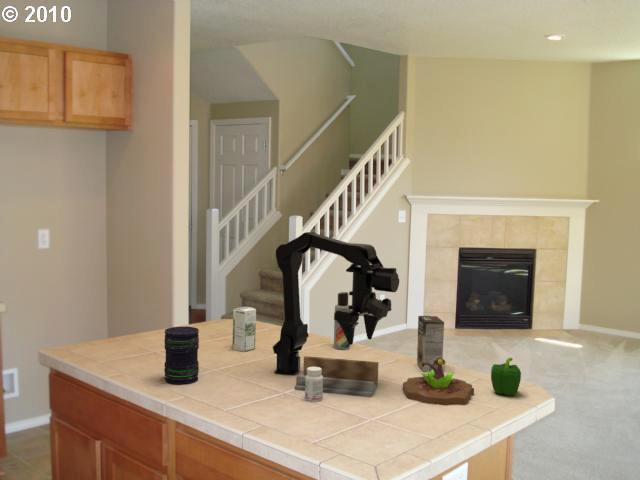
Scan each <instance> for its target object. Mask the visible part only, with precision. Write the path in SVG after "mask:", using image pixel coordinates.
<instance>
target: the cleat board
mask: <svg viewBox="0 0 640 480" xmlns="http://www.w3.org/2000/svg"><path fill="white" fill-rule="evenodd" d="M308 367H320V368H321V369H322V374H321V375H322V376H323V394H335V395H345V396H355V397H366V398H373V396H374V394H375V392H376V390H377V388H378V386H379V361H371V360H370V361H368V360H357V359H356V360H355V359H346V358H345V359H343V358H333V357H320V356H307V355H304V356H303V375H302V374H301V375H300V374H296V377H295V378H296V379H295V380H296V383H295V385H294V391H300V392H301V391H302V392H305V377H306V375H308V374H307V368H308Z"/></svg>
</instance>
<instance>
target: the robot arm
mask: <svg viewBox="0 0 640 480" xmlns="http://www.w3.org/2000/svg"><path fill="white" fill-rule="evenodd" d="M311 248H313V249H317V250H321V251H323V252H324V251H325V252H327V253H330V254H334V255H337V256H340V257H342V258H344V259H345V260H346V261H347V262H349V263H351V264H350V266H348V267H347V268H346V269H345V272H346V273H347V272H348V273H352V284H351V285H352V289H351V291H350V290H349V292H348V294H349V296H351V304H350V306H349V309H351V310H347V309H341V310H337V311H336V312H335V311H334V313H333V321H334V320H336V321H337V323H339V324H340V326H341V328H342V330H343V332H344V334H345V336H346V339H347V341H348V343H349V344H350V346H352V345H353V344H354V337H355V330H356V327H357V326H358V325H359V323H360V322H358V321H359V319H360V318H359V317H362V316H363V321H364V328H365V334H366V338H367V339H368V340H372V337H373V336H374V332H375V330H376V327H377V326H378V323H379V321H381V320H382V319H383V318H387V317H388V313H389V312H391V311H392V299H389V298H388V297H387V298H383V299H378V298H377V294H376V292H375V291H379V292H385V293H386V292H387V293H396V292H397V291H398V290H399V287H400V286H399V285H400V278H399V274H398V273H397V268H396V267H385V266H384V265H383V263H382V261H381V260H380V258H379V257H378V255H377V251H376V249H375V246H374V245H371V244H367V243H352V242H346V241H343V240H339V239H337V238H336V239H335V238H332V237H329V236H326V235H322V234H319V233H316V232H315V231H309V232H308V231H307V232H303V233H302V234H301V235H299V236H298V237H296V238H294V239H293V240H290V241H288V242H287V243H283V244H279V246H277V248H276V249H275V259H276V265H277V266H278V269H279V270H280V272H281V273H282V274H281V275H282V292H283V293H282V294H283V295H282V296H283V312H284V313H283V314H284V315H283V316H284V321H283V324H282V326H281V329H280V337H279V340H278V341H277V342H276V343H275V344H274V345H273V346H272V351H273V353H274V354H276V370H274V373H275V374H280V375H282V374H283V375H293V376H295V375H297V373H298V372H299V371H300V370H301V356H300V355H299V354H300V352H299V351H302V349H303V346H304V345H305V344H306V343H307V340H308V338H309V336H310V335H309V333H308V329H309V326H308V323H303V320H302V317H301V306H300V305H301V303H300V284H299V283H300V282H299V281H300V280H299V271H300V268H301V266H302V264H303V255H304V254H305V253H307V252H308V251H309V250H310V249H311ZM373 289H374V290H375V291H373Z"/></svg>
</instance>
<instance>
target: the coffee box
mask: <svg viewBox="0 0 640 480" xmlns="http://www.w3.org/2000/svg"><path fill="white" fill-rule="evenodd" d="M444 335H445V321H444V320H442V319H441V318H439V317H438V316H437V315H418V321H417V349H416V350H417V351H416V354H417V355H416V356H417V357H416V364H417V366H418V367H419V369H421V371H422V373H427V371H429V372H431V370H432V368H431V367H430V366H429V365H424V367H423V368H421V367H420V364H421V363H429V364H431V365H433V366H434V367H435V368H436V369H437V367H438V359H439V358H440V357H441V358H442V359H444V358H443V357H444V356H443V355H444Z"/></svg>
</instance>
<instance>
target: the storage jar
mask: <svg viewBox="0 0 640 480" xmlns="http://www.w3.org/2000/svg"><path fill="white" fill-rule="evenodd" d="M199 332H200V331H199V328H197V327H193V326H173V327H167V328H165V330H164V342H163V343H164V350H165V362H164V365H163V366H164V369H163V371H164V377H165V378H164V382H165V383H166V384H169V385H174V386H186V385H191V384H196V383H197V382H198V381H199V371H200V369H199V368H200V367H199V364H200V363H199V361H198V356H199V355H198V354H199V352H198V350H199V345H200V338H199Z"/></svg>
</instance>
